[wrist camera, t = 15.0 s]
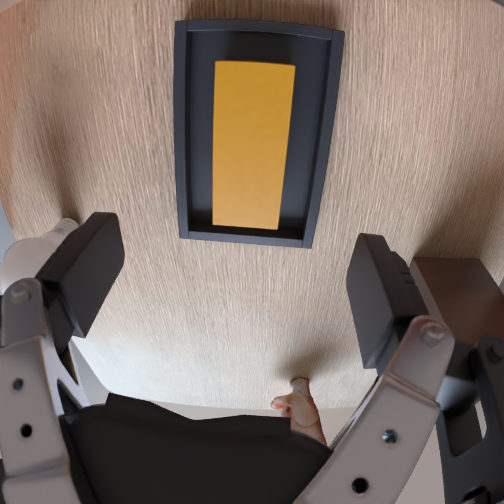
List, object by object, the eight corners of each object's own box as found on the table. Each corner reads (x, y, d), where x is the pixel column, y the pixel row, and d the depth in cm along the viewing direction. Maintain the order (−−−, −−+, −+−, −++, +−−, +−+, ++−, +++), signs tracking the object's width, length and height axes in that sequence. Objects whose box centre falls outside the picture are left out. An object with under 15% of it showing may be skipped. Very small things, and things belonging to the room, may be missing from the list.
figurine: (277, 372, 39) (275, 479, 27) (330, 378, 40) (338, 479, 28) (265, 392, 43) (262, 487, 31) (314, 397, 43) (318, 488, 31)
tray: (338, 33, 17) (345, 31, 15) (308, 234, 26) (311, 249, 25) (183, 23, 17) (174, 20, 15) (185, 224, 26) (179, 238, 25)
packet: (223, 59, 18) (215, 60, 15) (291, 64, 18) (295, 65, 15) (219, 201, 24) (212, 225, 22) (277, 206, 24) (277, 229, 22)
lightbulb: (112, 235, 27) (57, 320, 19) (77, 260, 30) (28, 338, 21) (70, 185, 24) (-3, 257, 16) (39, 217, 27) (-23, 287, 18)
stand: (412, 257, 27) (460, 358, 17) (479, 259, 27) (531, 343, 17) (388, 320, 32) (414, 414, 23) (450, 317, 32) (483, 398, 22)
